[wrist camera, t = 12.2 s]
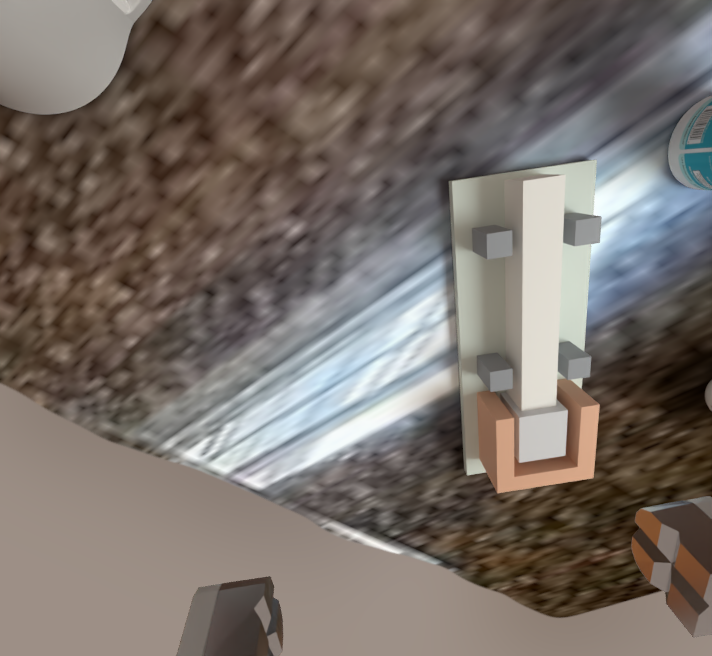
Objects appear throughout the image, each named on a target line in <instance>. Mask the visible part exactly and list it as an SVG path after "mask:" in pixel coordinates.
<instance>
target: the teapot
mask: <svg viewBox="0 0 712 656" xmlns="http://www.w3.org/2000/svg"><path fill="white" fill-rule="evenodd" d="M705 401H706V404H707V406H708V408H709V409H710V410H711V411H712V380H711V381H710V382H709V383H708V385H707V387H706V389H705Z"/></svg>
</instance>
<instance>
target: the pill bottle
mask: <svg viewBox="0 0 712 656" xmlns="http://www.w3.org/2000/svg"><path fill="white" fill-rule="evenodd" d="M668 161H669V166H670V169H671V172H672V173H673V175H674V177H675V178H676V179H677V180H678V181H679V182H680V183H682V184H683V185H685V186H687V187H689V188H692V189H698V190H712V95H711V96H709V97H706V98H705V99H703V100H701V101H699V102H698V103H696V104H695V105H694V106H692V107H691V108H690V109H689V110H688V111H687V112H686V113H685V114H684V115H683V117H682V118H681V119H680V121H679V122H678V124H677V125H676V127H675V129H674V131H673V133H672V136H671V139H670V142H669V147H668Z"/></svg>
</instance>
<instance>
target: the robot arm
mask: <svg viewBox="0 0 712 656" xmlns="http://www.w3.org/2000/svg"><path fill="white" fill-rule="evenodd" d="M151 1H152V0H0V104H1V105H3V106H6V107H8V108H11V109H14V110H18V111H21V112H26V113H32V114H59V113H64V112H68V111H72V110H75V109H77V108H80V107H82V106H84V105H86V104H87V103H89V102H91V101H92V100H93V99H95V98H96V97H97V96H98V95H100V94H101V93H102V92H103V91H104V90H105V88H106V87H107V86H108V85H109V84H110V82H111V81H112V79H113V78H114V76H115V74H116V73H117V71H118V69H119V66H120V64H121V62H122V59H123V56H124V53H125V49H126V45H127V41H128V37H129V34H130V31H131V28H132V26H133V24H134V22H135V21H136V20H137V19H138V18H139V17H140V15H141V14H142V13H143V12H144V11H145V10H146V8H147V7H148V6H149V4H150V3H151ZM635 522H636V523H637V524H638V526H639V527H640V529H639V530H638V531H637V532H636V533H635V534H634V535H633V536H632V546H631V548H632V552H633V555H634V558H635V561H636V563H637V565H638V567H639V569H640V570H641V572H642V573H643V575H644V576H645V577H646V579H647V580H648V581H649V582H650V583H651V584H652V585H654V586H656V587H657V588H659V589H661V590H663V591H664V592H665V594H666V604H667V605H668V607H669V608H670V609H671V610H672V612H673V613H674V614H675V615H676V617H677V618H678V619H679V620H680V622H681V623H682V624H683V625H684V627H685V628H686V629H687V630H688V632H689V633H690V634H691V635H692V637H699V636H705V635H712V497H710V496H708V497H701V498H696V499H691V500H686V501H677V502H672V503H666V504H661V505H656V506H651V507H646V508H641V509H640V510H639V511H638V512H637V513H636V518H635ZM273 593H274V585H273V582H272V580H271V577H270V576H269V577H263V578H256V579H249V580H243V581H236V582H229V583H222V584H217V585H211V586H205V587H199V588H198V590H197V591H196V593H195V594H194V596H193V599H192V602H191V606H190V610H189V613H188V616H187V620H186V623H185V627H184V631H183V634H182V637H181V641H180V645H179V648H178V652H177V655H176V656H280V654H281V653H282V648H283V619H282V613H281V607H280V604H279V601H278V600H277V599H275V598H273Z"/></svg>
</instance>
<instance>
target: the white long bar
mask: <svg viewBox="0 0 712 656" xmlns="http://www.w3.org/2000/svg"><path fill="white" fill-rule="evenodd" d="M565 179H566V175H559V174H541V175H535V176H528V177H521V178H514V179H508V180H504V197H505V228H507V229H510V230H512V256H508V257H505V312H506V362H507V363H508V364H509V365H510V367H511V368H512V369H513V389H507V390H506V392H504V393H500V400H501V401H502V402H503V404H504V405H505V406H506V408H507V409H508V410H509V412H510V413H511V414H512V416H513V417H514V456H515V457H516V459H517V460H518V462H519V463H522V462H528V461H535V460H541V459H547V458H554V457H560V456H565V455H566V436H567V418H568V410H567V409H566V408H565V407H564V406H563V405H562V404H561V403H560V402H559V401H558V400H557V399H556V396H557V372H558V348H559V324H560V300H561V276H562V252H563V227H564V203H565Z"/></svg>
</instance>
